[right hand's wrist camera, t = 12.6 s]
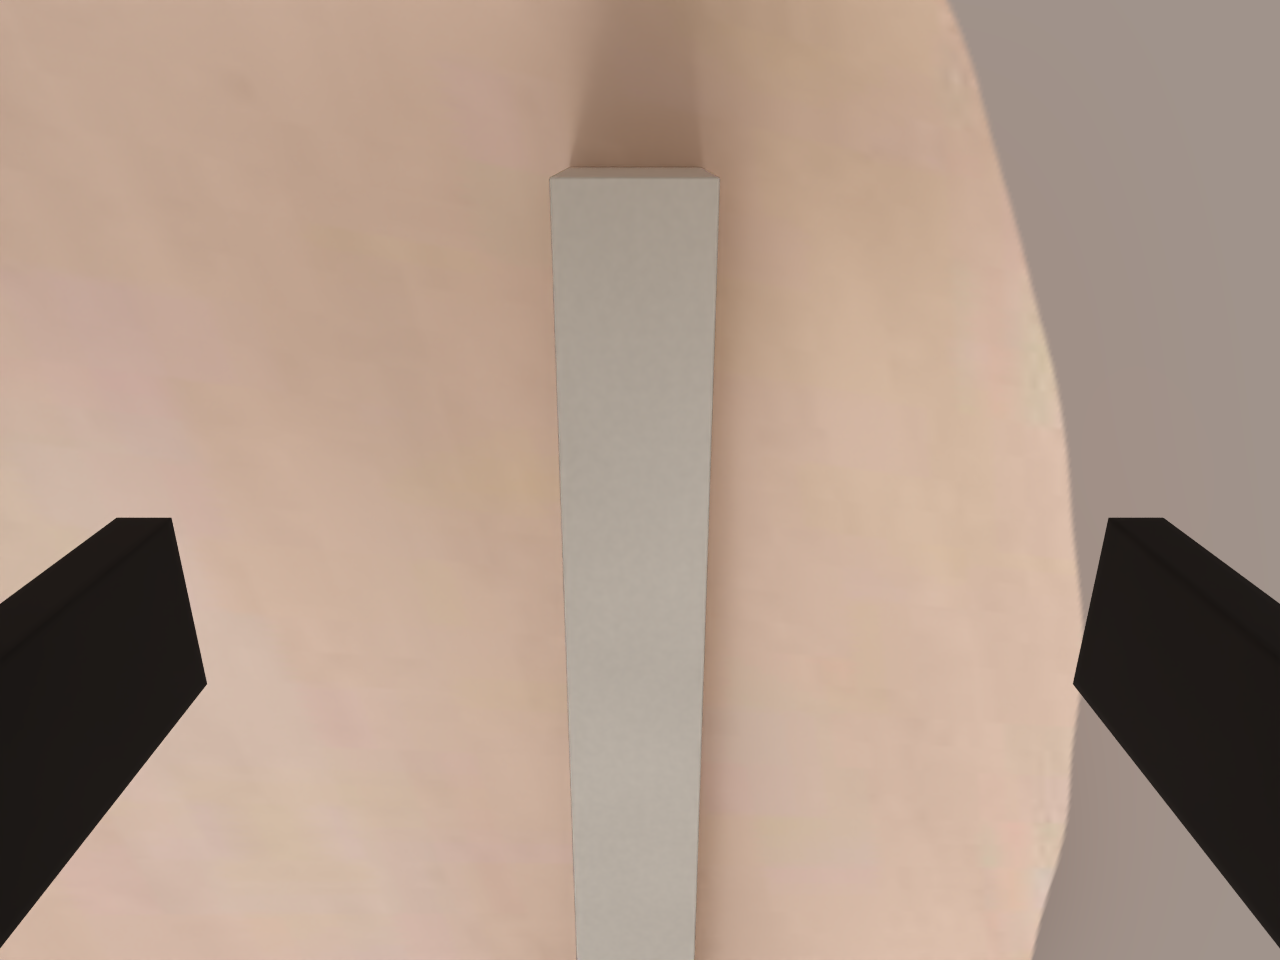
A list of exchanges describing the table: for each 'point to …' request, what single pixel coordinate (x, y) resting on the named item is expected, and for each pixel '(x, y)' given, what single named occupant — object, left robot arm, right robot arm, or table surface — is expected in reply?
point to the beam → (635, 539)
